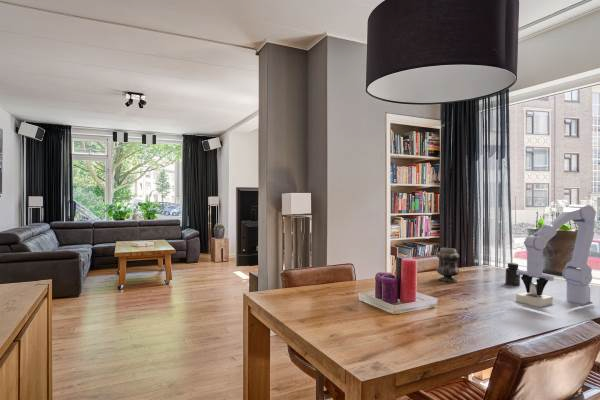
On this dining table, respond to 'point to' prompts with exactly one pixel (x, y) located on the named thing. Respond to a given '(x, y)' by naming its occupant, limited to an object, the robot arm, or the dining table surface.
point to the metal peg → (533, 290)
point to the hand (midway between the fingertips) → (534, 293)
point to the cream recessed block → (533, 299)
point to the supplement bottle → (512, 275)
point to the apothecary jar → (447, 264)
